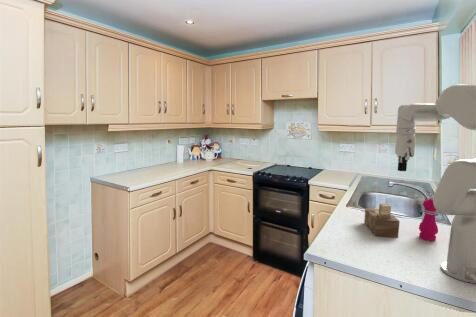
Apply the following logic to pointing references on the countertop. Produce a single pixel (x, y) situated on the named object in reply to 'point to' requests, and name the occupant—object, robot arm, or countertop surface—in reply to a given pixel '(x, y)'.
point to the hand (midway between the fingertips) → (401, 170)
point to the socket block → (381, 224)
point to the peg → (384, 211)
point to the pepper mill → (428, 221)
